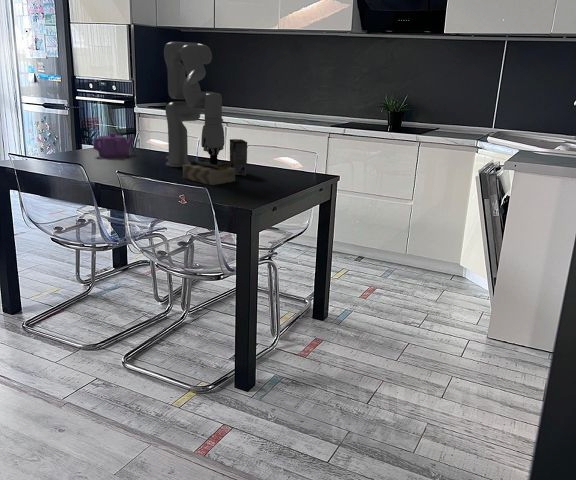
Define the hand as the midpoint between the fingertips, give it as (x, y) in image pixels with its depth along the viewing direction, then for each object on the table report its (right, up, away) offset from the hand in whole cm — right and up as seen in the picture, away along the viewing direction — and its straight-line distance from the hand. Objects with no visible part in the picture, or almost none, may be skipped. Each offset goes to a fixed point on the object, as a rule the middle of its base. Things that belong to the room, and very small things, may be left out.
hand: (213, 163), depth 250 cm
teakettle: (-62, +12, +57) cm, 85 cm away
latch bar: (-3, 0, +3) cm, 4 cm away
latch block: (-3, -7, +5) cm, 9 cm away
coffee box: (+9, -2, +20) cm, 22 cm away
